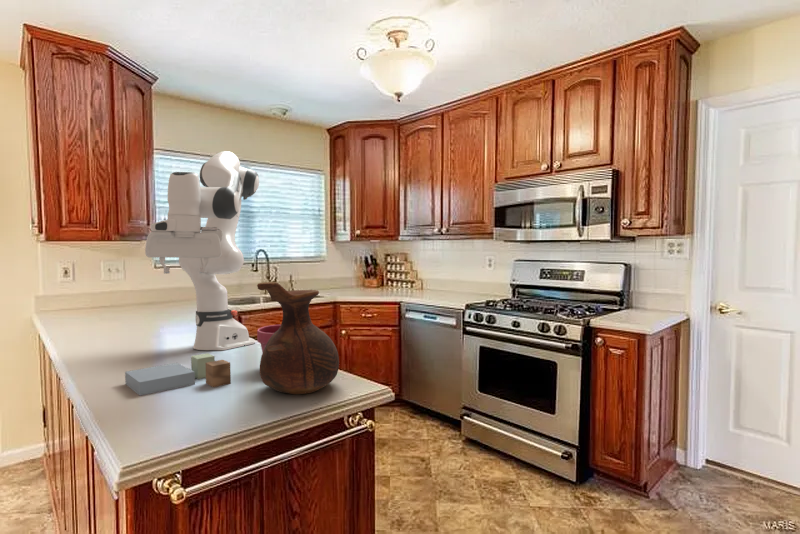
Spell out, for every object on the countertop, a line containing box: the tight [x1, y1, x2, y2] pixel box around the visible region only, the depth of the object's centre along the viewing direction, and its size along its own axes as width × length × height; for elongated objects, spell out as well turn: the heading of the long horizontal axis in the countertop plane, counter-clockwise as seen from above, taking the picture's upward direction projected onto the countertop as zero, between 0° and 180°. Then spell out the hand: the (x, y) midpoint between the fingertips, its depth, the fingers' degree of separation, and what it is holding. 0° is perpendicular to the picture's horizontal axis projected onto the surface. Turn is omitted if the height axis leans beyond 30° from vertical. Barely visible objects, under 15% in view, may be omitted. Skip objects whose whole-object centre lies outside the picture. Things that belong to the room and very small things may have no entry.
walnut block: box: [205, 359, 232, 388], centre depth 130 cm, size 5×5×6 cm
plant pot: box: [256, 324, 281, 354], centre depth 146 cm, size 14×14×13 cm
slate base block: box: [124, 362, 196, 396], centre depth 130 cm, size 14×14×4 cm
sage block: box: [190, 353, 216, 380], centre depth 138 cm, size 5×5×6 cm
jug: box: [256, 281, 340, 395], centre depth 125 cm, size 22×22×30 cm
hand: (184, 273), depth 135 cm, fingers open, 8 cm apart
